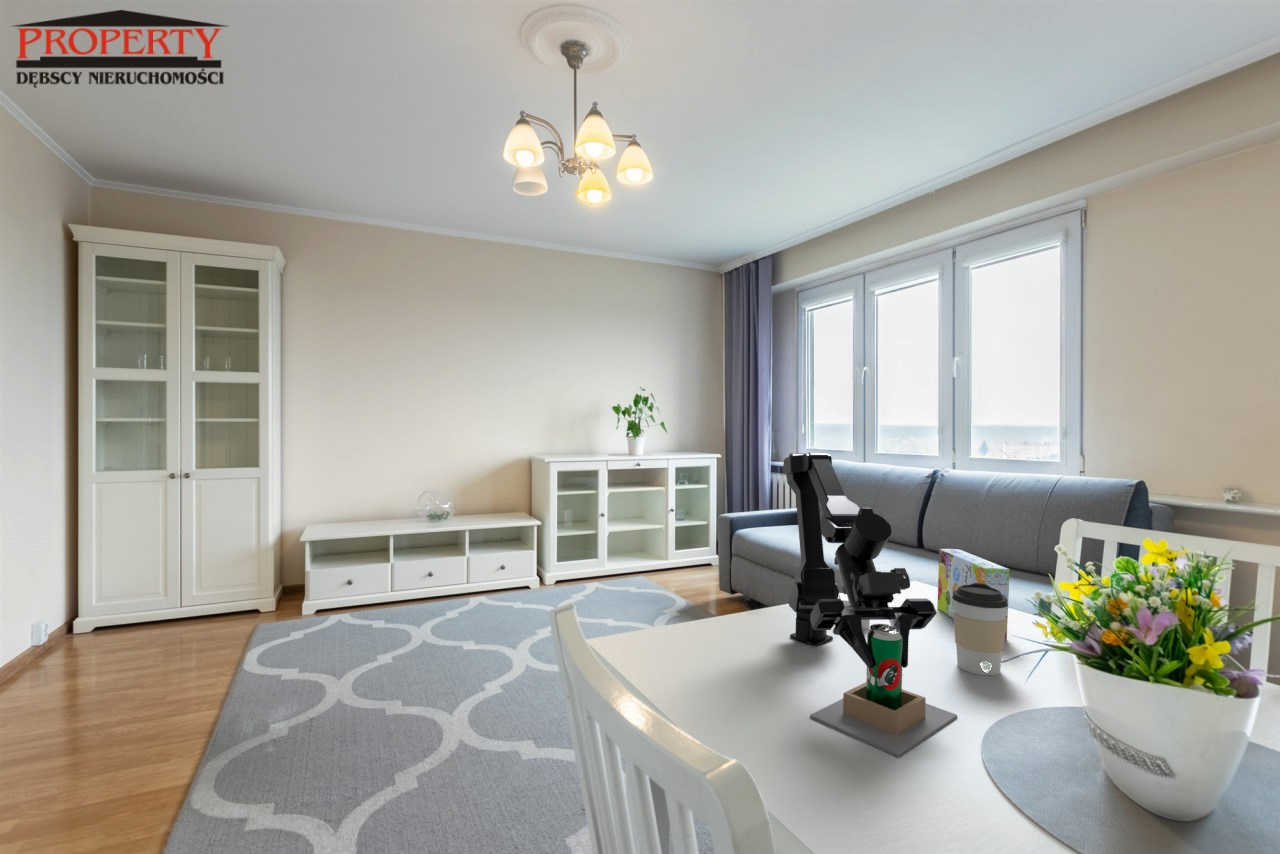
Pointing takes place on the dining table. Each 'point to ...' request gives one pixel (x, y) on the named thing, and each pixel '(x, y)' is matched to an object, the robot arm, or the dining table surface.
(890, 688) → the soda can
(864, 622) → the white cube
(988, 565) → the snack box
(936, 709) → the can holder
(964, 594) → the coffee cup
